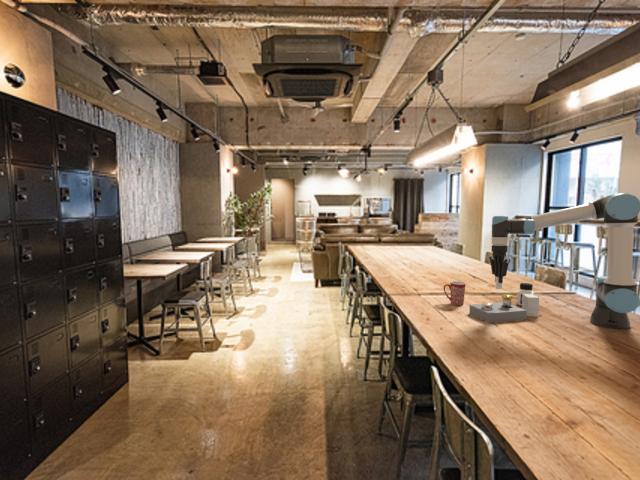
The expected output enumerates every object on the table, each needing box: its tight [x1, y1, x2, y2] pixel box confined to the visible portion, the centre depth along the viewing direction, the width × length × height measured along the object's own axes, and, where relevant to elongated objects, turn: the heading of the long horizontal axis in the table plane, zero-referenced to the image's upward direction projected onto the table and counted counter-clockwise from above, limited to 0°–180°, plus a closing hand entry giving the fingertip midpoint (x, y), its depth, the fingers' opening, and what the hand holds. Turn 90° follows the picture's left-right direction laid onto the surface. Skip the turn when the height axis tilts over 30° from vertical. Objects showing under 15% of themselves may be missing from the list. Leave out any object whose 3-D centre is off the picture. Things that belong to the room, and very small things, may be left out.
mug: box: [443, 280, 467, 307], centre depth 206 cm, size 13×9×14 cm
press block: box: [468, 301, 527, 324], centre depth 181 cm, size 16×22×5 cm
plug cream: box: [481, 301, 493, 310], centre depth 180 cm, size 5×5×7 cm
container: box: [516, 282, 535, 306], centre depth 203 cm, size 8×8×13 cm
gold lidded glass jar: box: [501, 293, 514, 308], centre depth 182 cm, size 5×5×7 cm
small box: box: [521, 294, 540, 317], centre depth 184 cm, size 8×6×10 cm
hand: (498, 288), depth 180 cm, fingers closed
